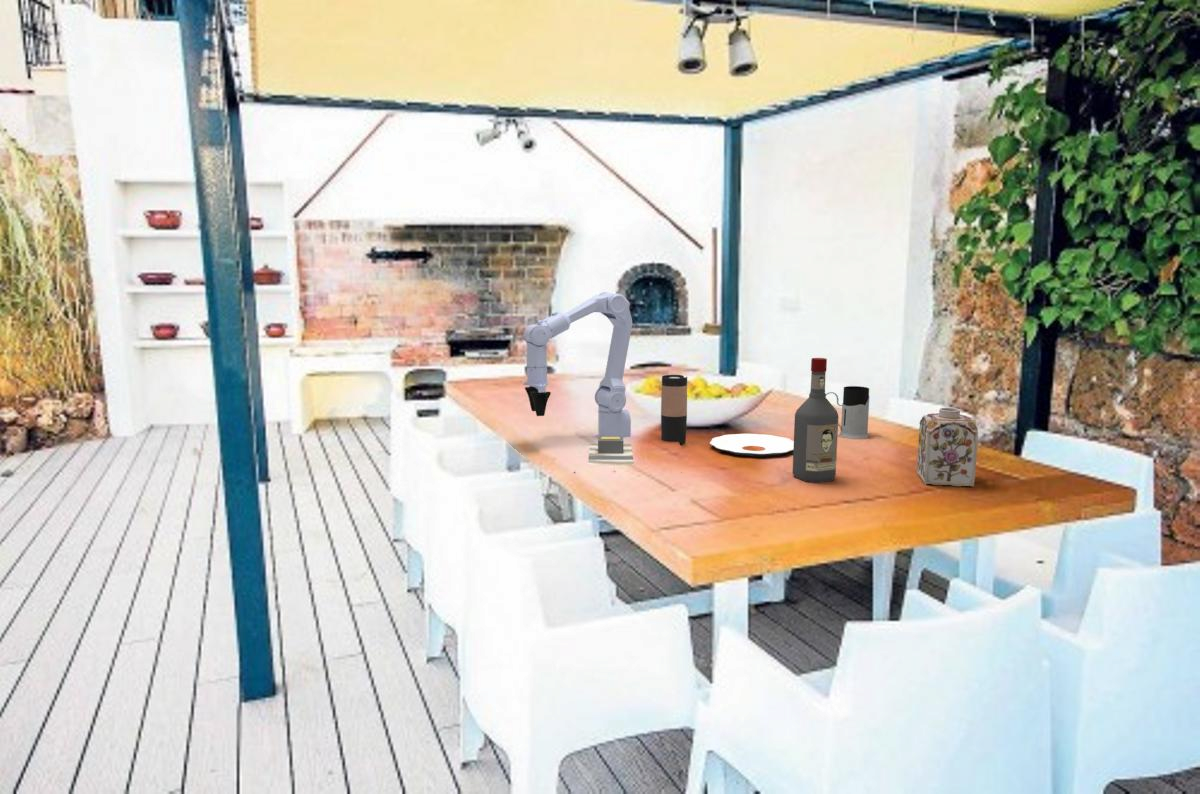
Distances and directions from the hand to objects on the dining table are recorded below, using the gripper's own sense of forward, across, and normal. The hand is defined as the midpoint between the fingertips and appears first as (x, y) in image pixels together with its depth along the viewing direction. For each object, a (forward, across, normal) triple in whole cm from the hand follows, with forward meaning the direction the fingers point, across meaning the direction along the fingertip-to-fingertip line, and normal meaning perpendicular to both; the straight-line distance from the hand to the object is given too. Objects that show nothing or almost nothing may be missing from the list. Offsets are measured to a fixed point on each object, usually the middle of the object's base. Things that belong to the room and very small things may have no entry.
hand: (537, 413), depth 236 cm
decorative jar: (+11, +62, +90) cm, 110 cm away
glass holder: (+11, +10, +94) cm, 95 cm away
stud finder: (+9, +15, +18) cm, 25 cm away
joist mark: (+10, +23, +16) cm, 29 cm away
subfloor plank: (+10, +18, +17) cm, 27 cm away
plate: (+11, +18, +60) cm, 63 cm away
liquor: (+11, +51, +60) cm, 80 cm away
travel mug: (+10, +5, +40) cm, 41 cm away
